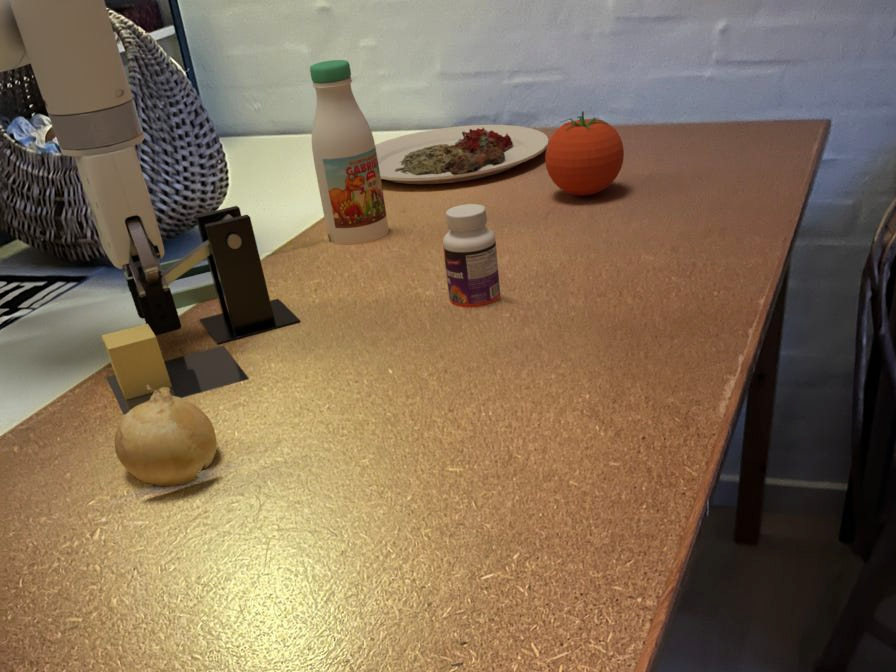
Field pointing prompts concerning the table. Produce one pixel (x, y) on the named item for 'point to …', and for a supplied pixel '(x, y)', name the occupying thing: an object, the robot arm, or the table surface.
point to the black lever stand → (238, 280)
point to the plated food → (457, 153)
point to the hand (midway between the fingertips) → (159, 321)
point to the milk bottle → (345, 159)
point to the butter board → (190, 376)
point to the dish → (190, 294)
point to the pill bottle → (470, 257)
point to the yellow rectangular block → (136, 360)
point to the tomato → (584, 156)
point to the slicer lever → (188, 260)
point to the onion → (165, 440)
